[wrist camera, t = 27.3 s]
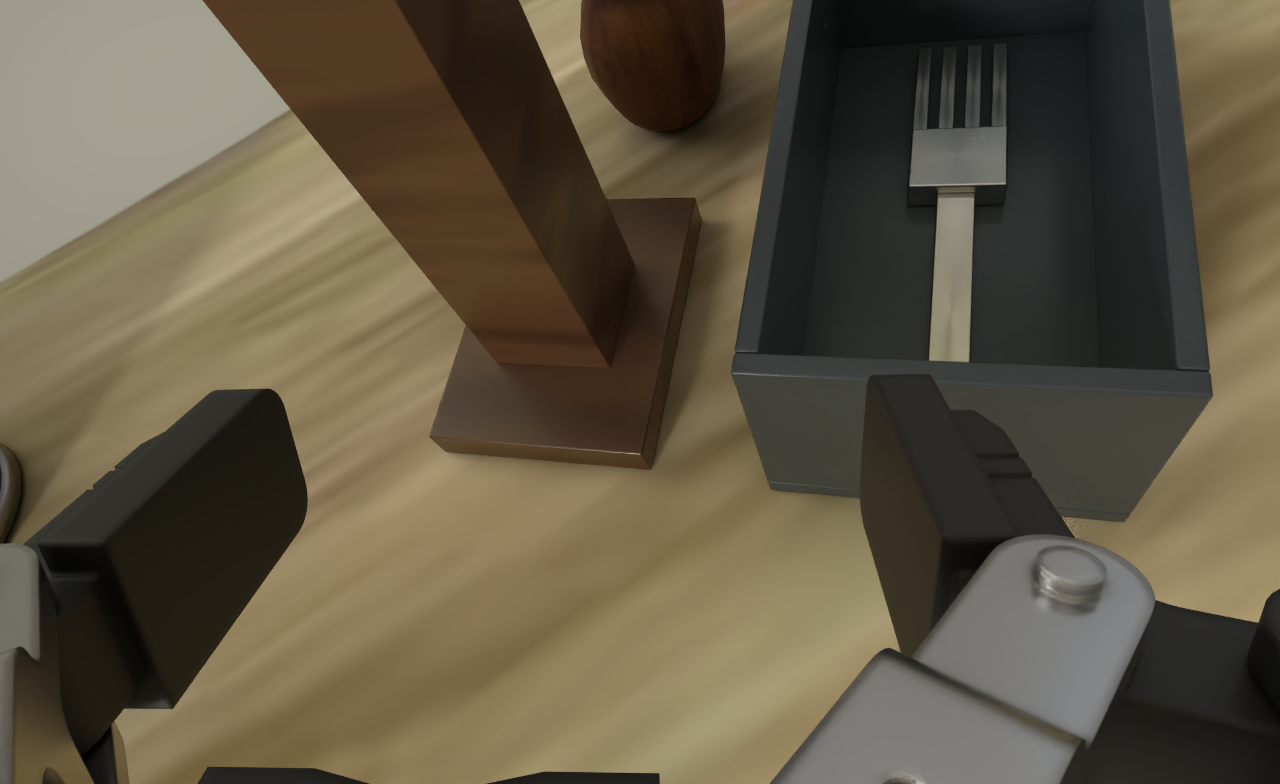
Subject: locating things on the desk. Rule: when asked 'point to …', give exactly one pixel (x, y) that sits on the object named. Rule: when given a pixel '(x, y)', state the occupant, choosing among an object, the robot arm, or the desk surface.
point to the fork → (957, 184)
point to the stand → (492, 216)
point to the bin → (980, 245)
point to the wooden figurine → (655, 57)
